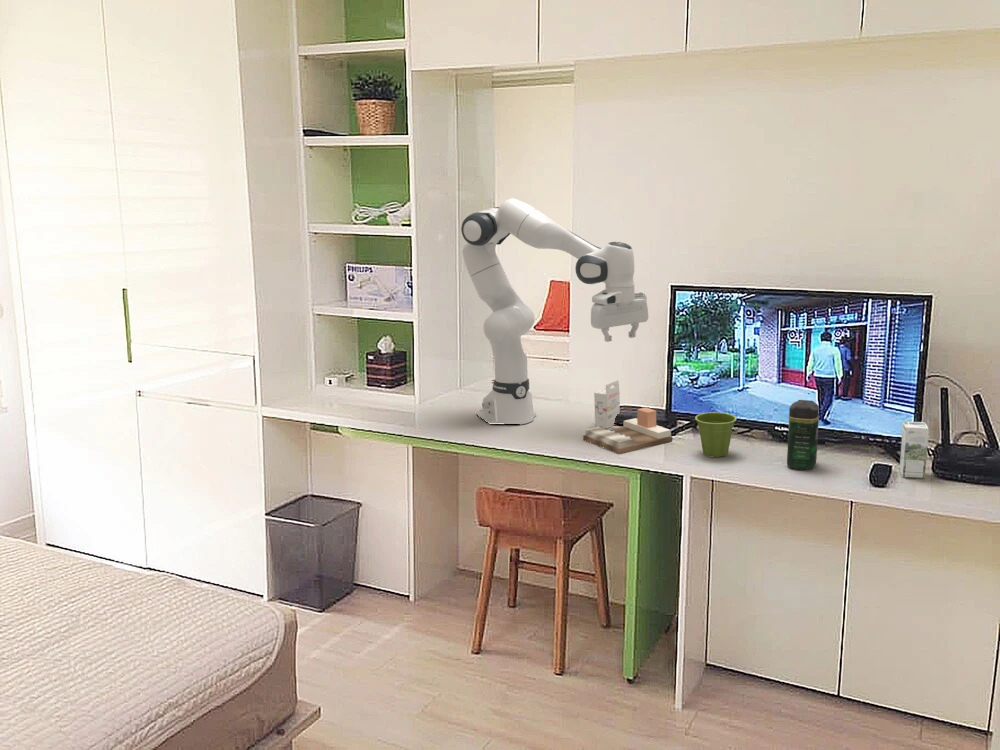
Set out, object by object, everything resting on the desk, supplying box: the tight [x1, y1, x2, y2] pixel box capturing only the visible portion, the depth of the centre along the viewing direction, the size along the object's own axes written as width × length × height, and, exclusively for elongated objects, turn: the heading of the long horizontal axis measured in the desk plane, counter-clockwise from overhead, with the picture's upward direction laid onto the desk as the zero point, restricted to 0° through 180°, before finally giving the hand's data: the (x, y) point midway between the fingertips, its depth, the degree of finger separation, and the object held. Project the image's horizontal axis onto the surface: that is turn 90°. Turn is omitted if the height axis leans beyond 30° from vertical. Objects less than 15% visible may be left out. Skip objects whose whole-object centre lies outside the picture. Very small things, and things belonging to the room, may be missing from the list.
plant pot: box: [694, 411, 738, 458], centre depth 276 cm, size 12×12×11 cm
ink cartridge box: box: [593, 379, 621, 429], centre depth 310 cm, size 9×5×15 cm, turn 143°
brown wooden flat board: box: [582, 425, 673, 455], centre depth 293 cm, size 18×21×4 cm
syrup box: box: [899, 421, 930, 479], centre depth 253 cm, size 6×6×14 cm
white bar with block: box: [623, 407, 672, 439], centre depth 296 cm, size 17×5×7 cm, turn 31°
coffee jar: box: [786, 399, 820, 471], centre depth 263 cm, size 10×8×19 cm
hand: (620, 339), depth 292 cm, fingers open, 8 cm apart
